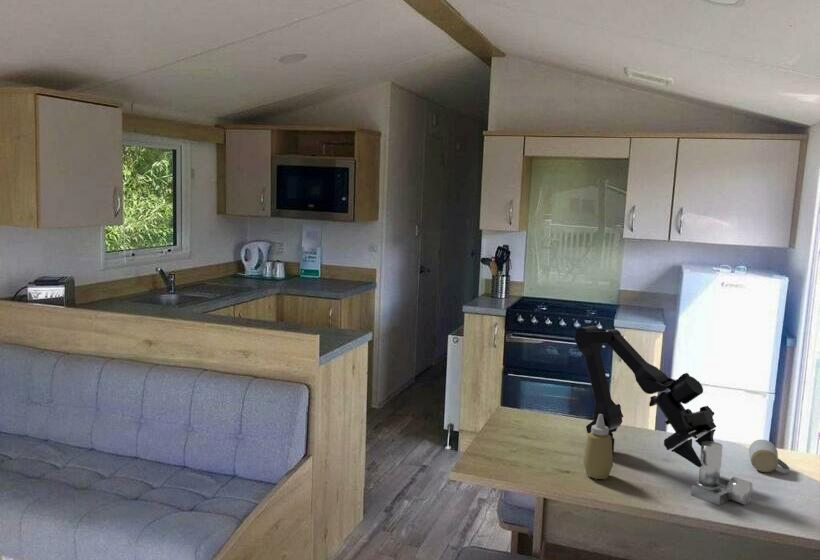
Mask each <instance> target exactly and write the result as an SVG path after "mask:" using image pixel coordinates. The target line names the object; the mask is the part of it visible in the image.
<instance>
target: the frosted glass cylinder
mask: <svg viewBox="0 0 820 560" xmlns="http://www.w3.org/2000/svg"><path fill="white" fill-rule="evenodd" d="M722 456H723V444H721V443H719V442H716V441H714V442H713V441H703V442H702V443H701V446H700V456H699V459H700V461H701V463H702V466H701V467H698V479H697V481H696V486H698V487H701V488H704V489H707V490H710V491H712V492H715V493H719V492H721V486H720V484H719V481H720V476H721V467H722Z"/></svg>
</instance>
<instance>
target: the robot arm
mask: <svg viewBox="0 0 820 560" xmlns="http://www.w3.org/2000/svg"><path fill="white" fill-rule="evenodd" d="M573 335H574V336H573V337H574V340H575V341H574V342H575V344H576V347H577V349H578V350H579V352H581V354H582V355H583V357H584V360H585V362H586V363H585V364H586V369H587V372H588V376H589V381H590V385H591V386H590V387H591V389H592V394H593V398H594V402H595V403H594V407H593V412H592V414H593V420H592V421H591V422H590V423H588V424H587V425H586V426H585V427H586V432H587V434H589V433H590V432H591V427H592V426H593V425H596V422H597V419H598V415H599V414H603V418H604V424H605V426H607V427H608V428H609V432H608V434H609V435H610V436H611V438H612V456H614V450H615V438H614V432H617V430H618V428H619V427H621V424H622V423H623V418H624V414H623V413H622V406H621V404H620V403H617V404H616V403H615V402H614V401H613V399H612V397H611V392H610V388H609V383H608V379H607V374H606V370H605V366H604V362H603V358H602V349H603V344H607V345H608V346H609V347H610V349H611V350H612V351H613V352H614V353H615V354H616V355H617V356H618V357H619V358H620V359H621V360H622V362H624V364H625V365H626V366H627V367H628V369H629V370H631V372H632V373H633V374H634V378H635V382H636V383H637V384H638V386H639V388H640V389H641V390H642V392H643V393H645V394H647V395H648V394H649V395H651V396H650V401H649V404H648V406H649V407H650V408H651V407H654V406H657V407H658V409H659V410H660V412H661V413H662V414H663V416H664V417H665V419H666V420H665V421H664V423H665V424H666V425H667V426H669V425H670V426H671V428H672V429H673V430H674V433H673V434H670V435H669V436H668V437H667V438H665V439H663V446H664V447H665V448H666V451H669V450H671V452H672V453H676V454H677V455H679V456H680V457H682V458H684V459H685V460H687V461H689V462H690V463H691V464H693V465H695V467H698V468H699V467H701V466H702V463H701V461H700V457H699V456H698V454H697V453H696V451H695V449H694V448H693V438H694V439H695V440H694V441H695V442H696V443H697V444H698V445H699V447H701V443H702V442H703V441H713V442H715V441H714V440H715V439H714V434H715V432H716V428H717V425H716V424H715V422H714V415H715V412H714V411H713V410H712V409H711V408H710V407H709V406H708V405H705V406H701V407H700V408H699V411H696V412H693V411H692V410H691V408H685V407H684V405H687V404H688V403H690V402H692V401H693V400H695V399H696V398H697V397H699V396H700V395H702V394H703V393H704V389H703V385H702V384H701V382H700V381H699V380H697V379H696V378H694V376H691V375H690V374H689V372H684V373H682V374H681V375H680V376H679V377H678V378H677V379H674V378H671V377H668V375H667V374H666V373H665V372H663V371H662V370H660V368H658V367H656V366H655V365H653V364H650V363H649V362H647V361H646V360H645V359H644V358H643V357H642V356H641V355H640V354H639V352H638V351H637V350H636V349H635V348H634V347H633V346H632V344H630V343H629V342H628V340H626V338H624V336H623V335H622V333H621V331H620V330H618V329H616V328H613V329H609V328H599V327H598V326H596V325H590V326H584V327H579V328H578V329H576V331H575V333H574V334H573ZM668 390H669V391H668ZM665 391H668V392H665ZM657 393H660V394H658V395H654V394H657Z"/></svg>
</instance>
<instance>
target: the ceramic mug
mask: <svg viewBox="0 0 820 560" xmlns="http://www.w3.org/2000/svg"><path fill="white" fill-rule="evenodd" d="M748 453H749V460H750V462H751V465H752V466H753V468H754V469H756V470H757V471H758V472H761V473H770V472H773V471H776V472H779V473H781V474H784V475H787V474H788V473H789V471H790V470H791V469H790V467H789V465H787V463H785V461H783V460H781V459H780V458H779V454H778V453H779V452H778V449H777V447H776V446H775V444H774V443H773V442H771V441H769V440H766V439H757V440H754V441H753V442H752V443H751V444H750V445H749V447H748Z"/></svg>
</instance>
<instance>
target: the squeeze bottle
mask: <svg viewBox="0 0 820 560" xmlns="http://www.w3.org/2000/svg"><path fill="white" fill-rule="evenodd" d="M608 432H609V428H608V427H607V426H605V424H604V418H603V414H599V415H598V419H597V422H596V425H593V426H592V427H591V432H590V433H587V437H586V443H585V449H584V455H583V462H582V463H583V467H584V470H585V473H586V476H587V475H588V476H589V477H588V476H587V477H588V478H590V477H592V478H596V479H595V480H597V479H603V480H607V479H608V478H609V475H610V473H611V471H612V468H613V466H614V465H613V463H614V462H613V461H614V460H613V455H612V438H611V436H610V435H609V434H608ZM592 478H591V479H592Z"/></svg>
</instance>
